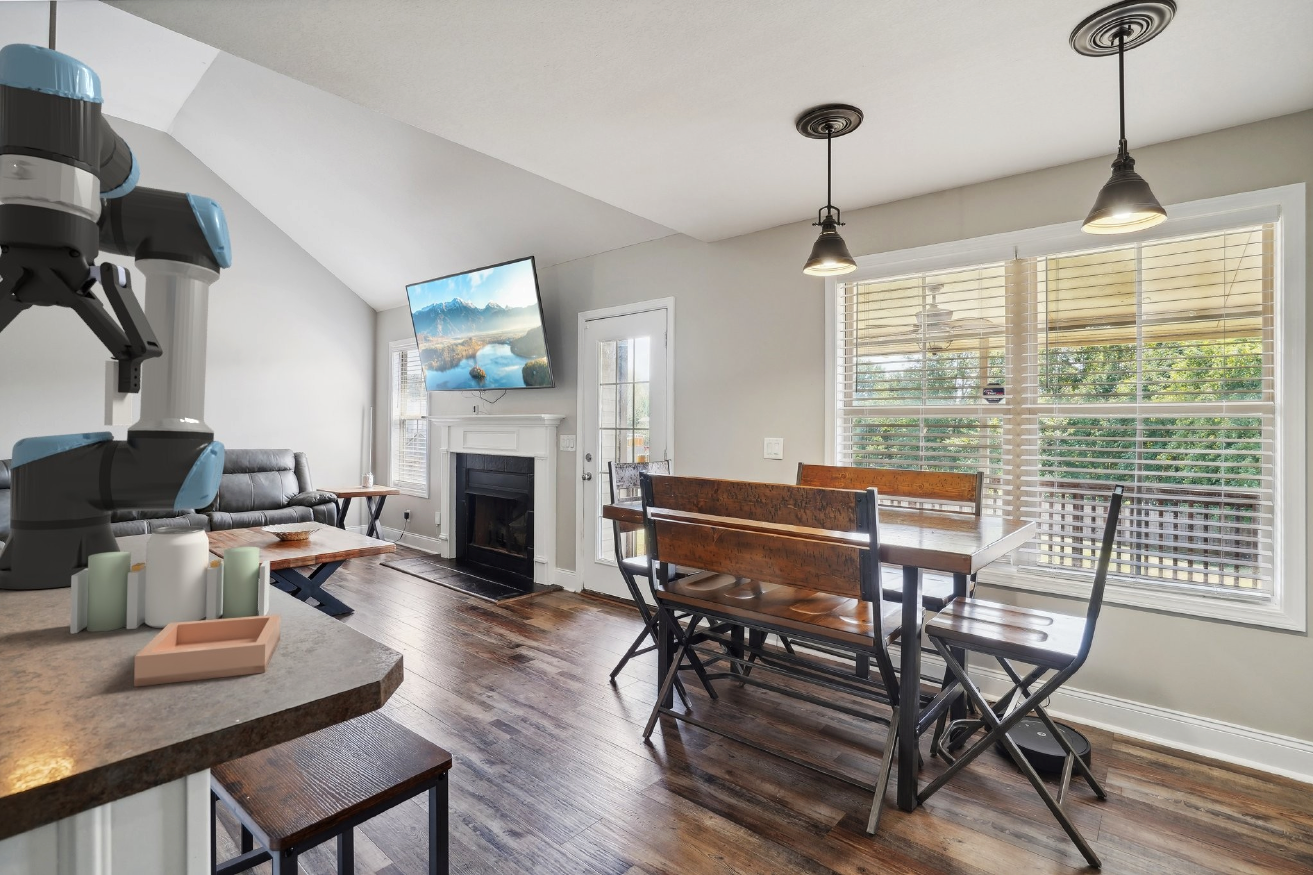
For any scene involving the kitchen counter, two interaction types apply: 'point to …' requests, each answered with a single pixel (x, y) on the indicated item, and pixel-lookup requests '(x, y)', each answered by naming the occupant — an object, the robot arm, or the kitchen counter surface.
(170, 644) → the tray
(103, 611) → the peg
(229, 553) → the green piece
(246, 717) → the kitchen counter surface
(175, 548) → the can
